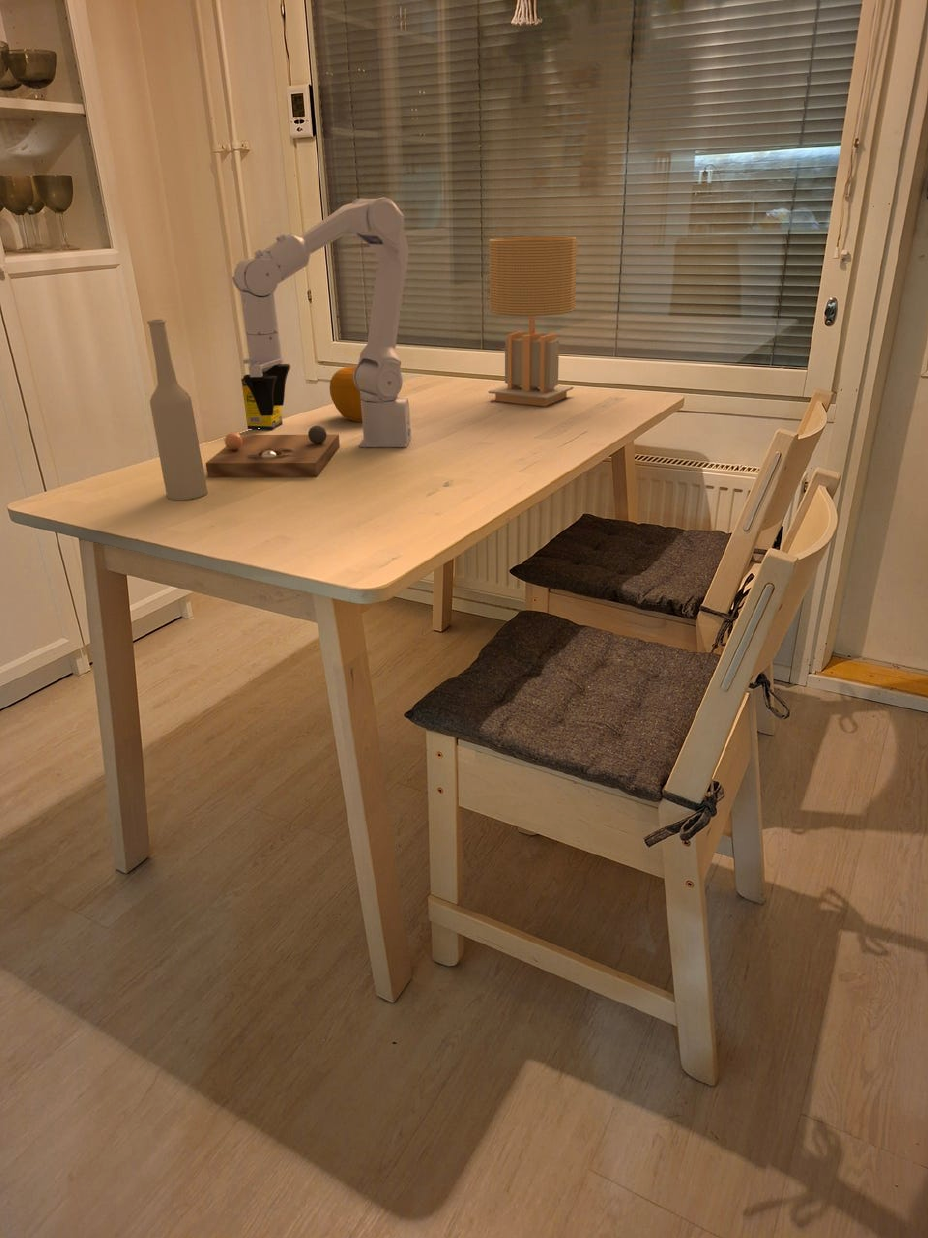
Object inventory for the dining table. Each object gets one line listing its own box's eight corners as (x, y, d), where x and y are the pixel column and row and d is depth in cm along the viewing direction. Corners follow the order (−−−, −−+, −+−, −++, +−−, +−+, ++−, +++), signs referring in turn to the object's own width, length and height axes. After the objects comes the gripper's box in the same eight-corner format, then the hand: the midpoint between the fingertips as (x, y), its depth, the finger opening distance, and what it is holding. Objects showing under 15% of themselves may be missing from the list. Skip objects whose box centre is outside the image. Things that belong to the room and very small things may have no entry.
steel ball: (278, 471, 155) (281, 459, 157) (274, 458, 152) (277, 446, 154) (261, 471, 155) (264, 459, 157) (257, 458, 153) (260, 446, 154)
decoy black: (328, 441, 162) (327, 423, 160) (325, 445, 159) (323, 428, 157) (311, 441, 162) (309, 423, 160) (307, 446, 159) (305, 428, 157)
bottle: (185, 503, 138) (153, 324, 125) (158, 497, 141) (124, 321, 129) (215, 491, 143) (187, 318, 130) (189, 486, 146) (159, 316, 134)
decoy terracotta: (245, 447, 159) (243, 430, 158) (240, 451, 156) (238, 434, 155) (229, 447, 159) (226, 430, 158) (223, 451, 156) (221, 434, 155)
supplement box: (273, 430, 181) (266, 378, 176) (247, 429, 182) (239, 378, 177) (283, 423, 186) (277, 373, 181) (258, 423, 187) (251, 372, 182)
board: (339, 446, 167) (338, 434, 166) (317, 476, 150) (315, 462, 148) (241, 447, 169) (240, 434, 168) (207, 476, 151) (205, 463, 150)
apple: (321, 423, 186) (316, 370, 180) (350, 410, 196) (346, 359, 191) (373, 427, 181) (369, 372, 176) (399, 413, 192) (396, 362, 187)
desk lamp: (585, 394, 205) (591, 236, 190) (548, 411, 191) (552, 241, 175) (515, 387, 215) (516, 236, 199) (475, 402, 200) (472, 240, 184)
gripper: (251, 327, 155) (261, 401, 161) (227, 339, 142) (239, 419, 148) (289, 326, 154) (298, 400, 160) (268, 338, 141) (278, 419, 148)
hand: (272, 410), depth 154 cm, fingers open, 7 cm apart
